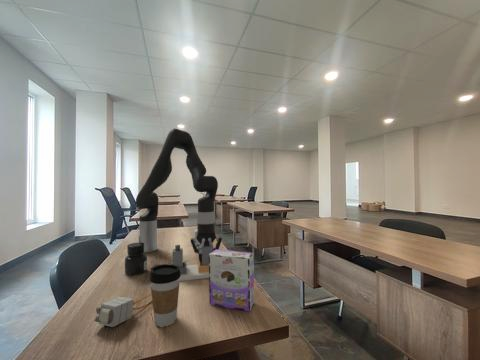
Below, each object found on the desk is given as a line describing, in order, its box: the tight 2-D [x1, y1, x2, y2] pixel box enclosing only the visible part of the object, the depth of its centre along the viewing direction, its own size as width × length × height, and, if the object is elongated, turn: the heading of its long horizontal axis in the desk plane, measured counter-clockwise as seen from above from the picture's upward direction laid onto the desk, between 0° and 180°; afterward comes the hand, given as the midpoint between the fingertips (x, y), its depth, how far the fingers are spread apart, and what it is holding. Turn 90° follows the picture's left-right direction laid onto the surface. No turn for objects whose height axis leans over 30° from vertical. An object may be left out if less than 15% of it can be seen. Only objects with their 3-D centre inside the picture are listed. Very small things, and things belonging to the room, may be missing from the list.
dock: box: [169, 244, 209, 282], centre depth 96 cm, size 23×12×12 cm, turn 103°
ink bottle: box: [124, 241, 148, 277], centre depth 98 cm, size 10×9×12 cm
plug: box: [202, 245, 212, 266], centre depth 97 cm, size 4×4×11 cm
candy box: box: [208, 249, 255, 312], centre depth 72 cm, size 14×6×16 cm, turn 71°
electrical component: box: [93, 293, 153, 328], centre depth 71 cm, size 24×6×5 cm, turn 163°
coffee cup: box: [149, 263, 181, 327], centre depth 64 cm, size 8×8×15 cm
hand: (206, 261), depth 97 cm, fingers closed on plug, 4 cm apart
